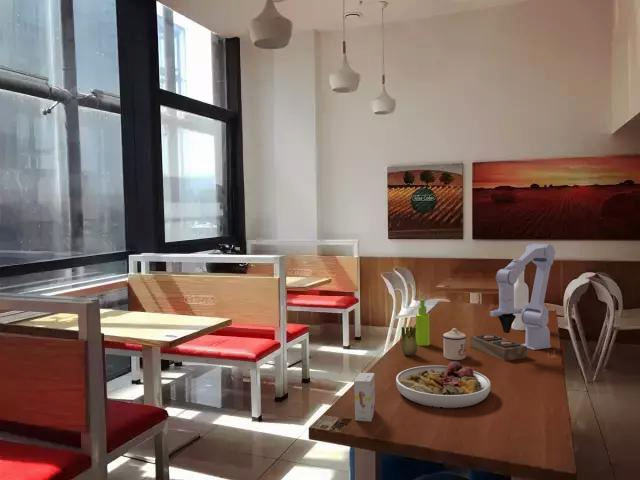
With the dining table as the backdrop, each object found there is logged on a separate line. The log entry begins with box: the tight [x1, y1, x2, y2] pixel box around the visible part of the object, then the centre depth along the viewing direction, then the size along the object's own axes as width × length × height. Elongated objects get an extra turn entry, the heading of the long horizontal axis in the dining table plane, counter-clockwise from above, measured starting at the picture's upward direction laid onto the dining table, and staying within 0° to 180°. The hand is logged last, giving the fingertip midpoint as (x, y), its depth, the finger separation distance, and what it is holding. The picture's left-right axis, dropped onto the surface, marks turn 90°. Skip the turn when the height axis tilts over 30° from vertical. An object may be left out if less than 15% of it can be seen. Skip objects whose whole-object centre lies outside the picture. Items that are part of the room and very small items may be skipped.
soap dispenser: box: [415, 298, 431, 347], centre depth 235 cm, size 6×7×20 cm
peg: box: [501, 342, 512, 345], centre depth 215 cm, size 4×4×5 cm
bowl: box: [395, 360, 492, 409], centre depth 174 cm, size 30×30×8 cm
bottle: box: [511, 270, 530, 331], centre depth 259 cm, size 8×8×30 cm
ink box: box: [353, 372, 376, 422], centre depth 157 cm, size 9×5×12 cm, turn 165°
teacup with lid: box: [442, 327, 467, 361], centre depth 216 cm, size 12×9×12 cm
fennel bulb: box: [400, 325, 418, 357], centre depth 219 cm, size 6×5×12 cm
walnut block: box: [469, 333, 528, 362], centre depth 220 cm, size 11×22×5 cm, turn 20°
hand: (506, 332), depth 215 cm, fingers closed
